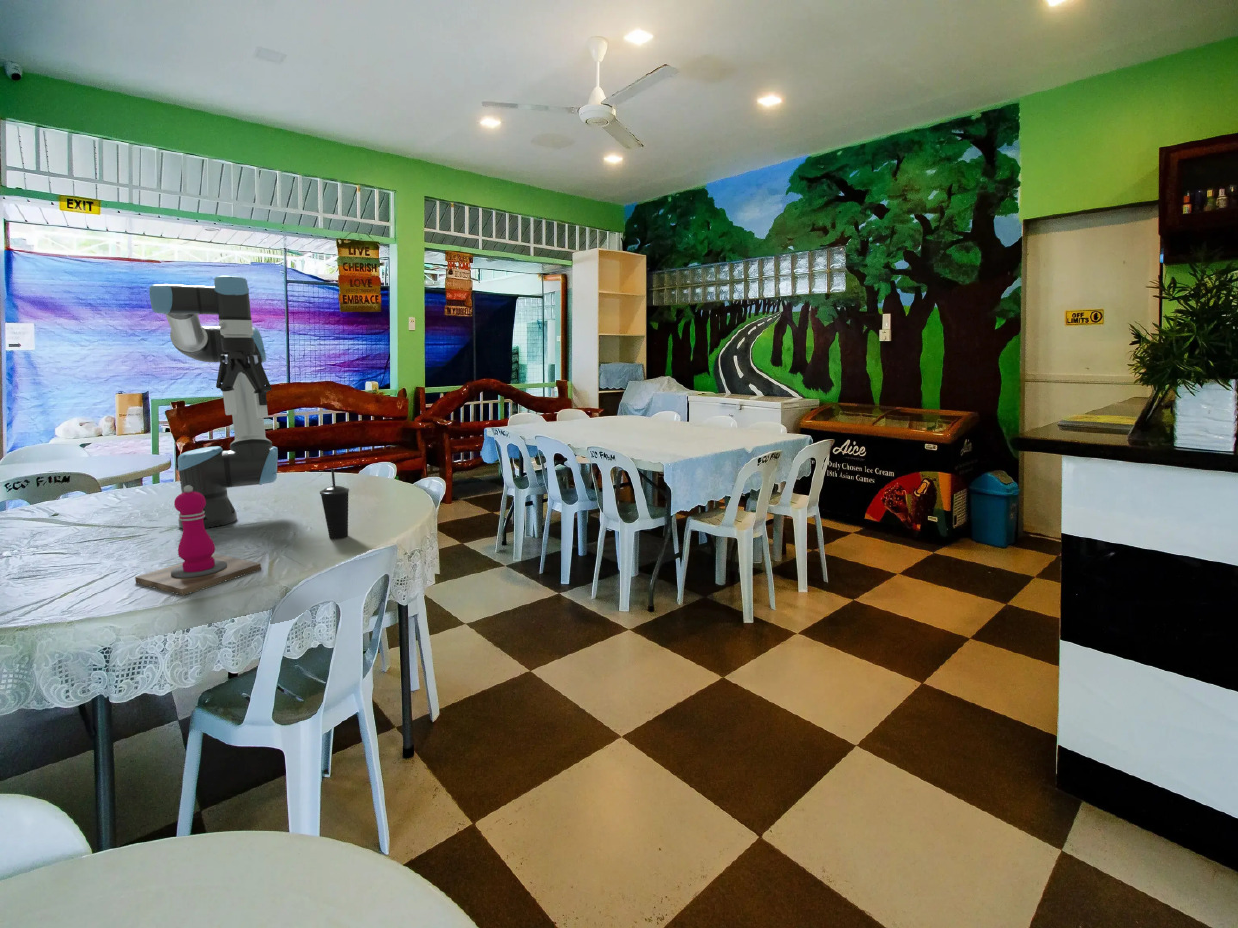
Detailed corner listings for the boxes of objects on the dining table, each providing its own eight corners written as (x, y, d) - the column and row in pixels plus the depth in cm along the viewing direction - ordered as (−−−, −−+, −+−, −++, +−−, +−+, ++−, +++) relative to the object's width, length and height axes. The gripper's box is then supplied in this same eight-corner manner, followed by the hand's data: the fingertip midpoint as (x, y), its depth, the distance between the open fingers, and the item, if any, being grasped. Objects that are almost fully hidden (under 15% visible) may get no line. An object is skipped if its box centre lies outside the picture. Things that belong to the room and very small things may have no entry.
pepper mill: (209, 560, 150) (198, 480, 146) (223, 566, 146) (212, 484, 142) (175, 569, 144) (163, 486, 141) (188, 575, 140) (176, 490, 137)
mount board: (135, 583, 141) (134, 574, 141) (215, 559, 157) (214, 551, 157) (183, 595, 134) (182, 586, 133) (261, 569, 150) (260, 561, 149)
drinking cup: (334, 542, 171) (328, 472, 167) (318, 538, 175) (311, 469, 171) (358, 535, 177) (353, 467, 173) (342, 531, 181) (336, 465, 177)
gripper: (194, 336, 166) (205, 414, 170) (253, 336, 155) (262, 420, 159) (223, 336, 172) (232, 412, 176) (280, 336, 161) (289, 417, 166)
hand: (246, 416), depth 168 cm, fingers open, 13 cm apart
